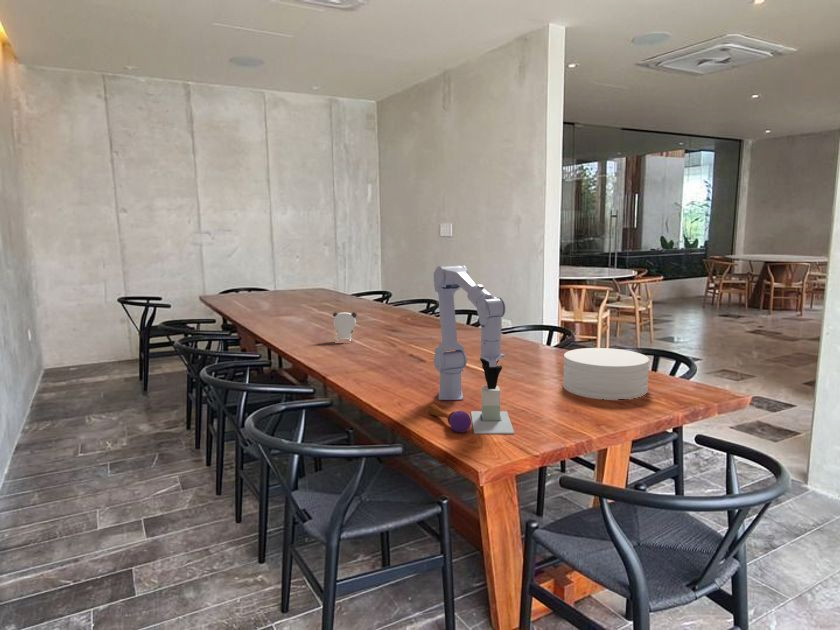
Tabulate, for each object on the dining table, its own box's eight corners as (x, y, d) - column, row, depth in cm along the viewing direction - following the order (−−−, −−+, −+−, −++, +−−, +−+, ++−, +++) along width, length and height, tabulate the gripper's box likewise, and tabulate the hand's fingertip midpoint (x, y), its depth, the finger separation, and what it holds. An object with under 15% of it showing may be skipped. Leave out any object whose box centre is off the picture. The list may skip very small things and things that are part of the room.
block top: (481, 400, 166) (481, 385, 166) (498, 400, 166) (498, 385, 166) (482, 405, 161) (482, 390, 161) (500, 405, 161) (500, 390, 161)
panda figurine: (357, 339, 288) (357, 310, 285) (356, 343, 276) (355, 313, 274) (334, 339, 287) (333, 310, 285) (332, 344, 276) (331, 314, 274)
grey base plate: (470, 412, 171) (470, 411, 171) (506, 412, 170) (506, 411, 170) (474, 433, 153) (474, 432, 153) (514, 433, 153) (514, 432, 152)
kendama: (441, 399, 172) (476, 413, 154) (439, 419, 172) (473, 434, 154) (424, 399, 169) (457, 413, 151) (422, 418, 169) (455, 434, 151)
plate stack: (547, 383, 202) (548, 352, 201) (609, 374, 213) (610, 345, 211) (598, 405, 177) (599, 370, 175) (666, 394, 187) (667, 360, 185)
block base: (481, 414, 167) (481, 400, 166) (498, 414, 167) (498, 400, 166) (482, 420, 162) (482, 405, 161) (499, 420, 162) (500, 405, 161)
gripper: (507, 344, 154) (507, 392, 156) (502, 334, 168) (501, 378, 170) (482, 344, 154) (481, 392, 156) (478, 334, 168) (478, 378, 170)
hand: (490, 385), depth 163 cm, fingers open, 7 cm apart
